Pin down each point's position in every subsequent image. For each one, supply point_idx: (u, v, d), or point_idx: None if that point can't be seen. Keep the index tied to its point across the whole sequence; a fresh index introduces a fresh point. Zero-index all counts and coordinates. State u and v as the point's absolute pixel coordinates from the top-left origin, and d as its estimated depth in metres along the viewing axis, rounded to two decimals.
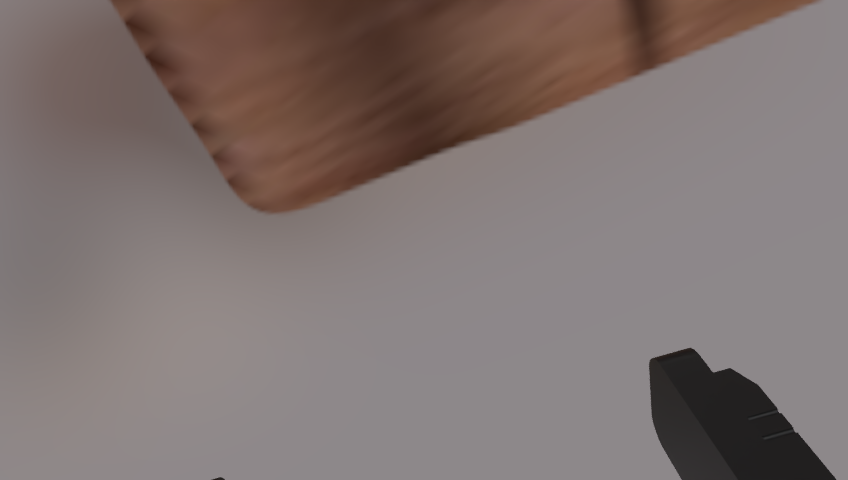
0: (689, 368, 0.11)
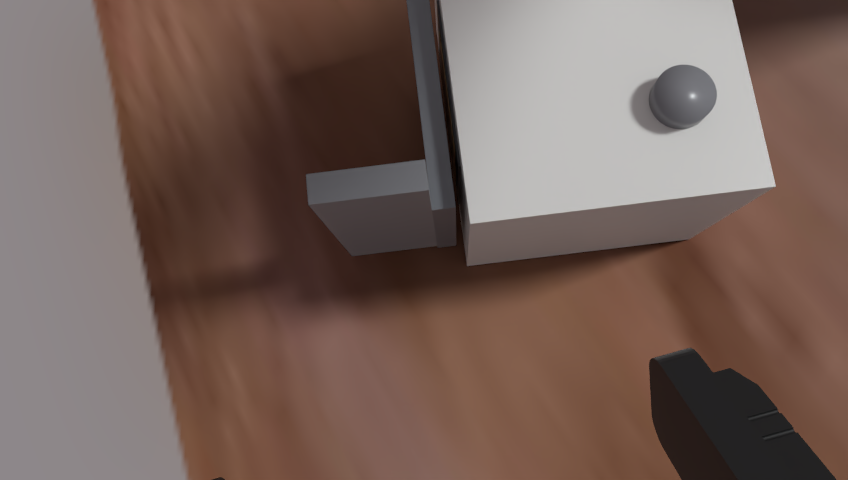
0: (689, 368, 0.11)
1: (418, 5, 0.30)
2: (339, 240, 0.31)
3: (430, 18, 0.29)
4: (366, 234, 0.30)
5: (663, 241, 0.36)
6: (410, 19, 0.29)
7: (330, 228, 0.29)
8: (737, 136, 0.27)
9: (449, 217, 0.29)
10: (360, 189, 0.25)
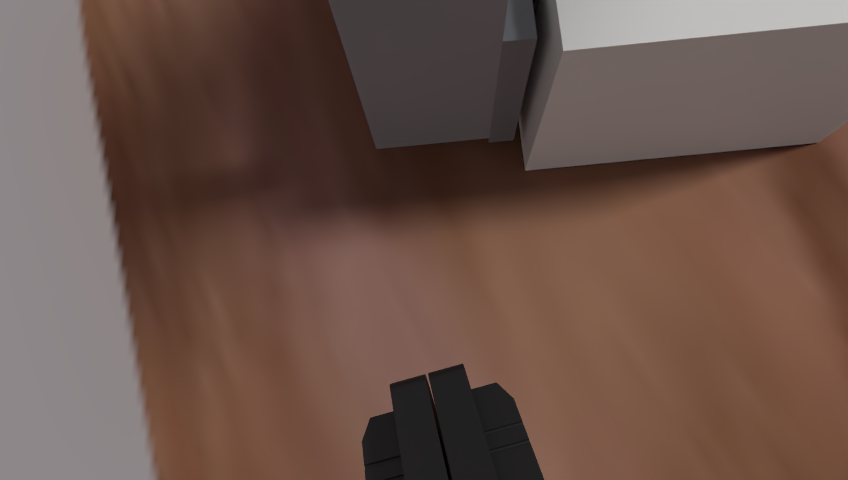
0: (452, 383, 0.12)
1: None
2: (363, 107, 0.23)
3: None
4: (402, 95, 0.22)
5: (785, 143, 0.27)
6: None
7: (354, 72, 0.20)
8: None
9: (522, 65, 0.21)
10: None
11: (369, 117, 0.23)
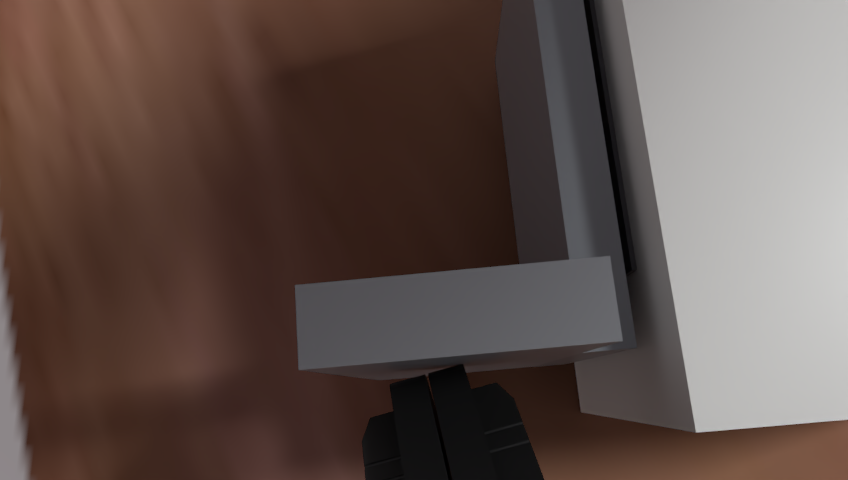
0: (452, 383, 0.12)
1: None
2: None
3: None
4: (419, 372, 0.15)
5: None
6: None
7: (348, 375, 0.13)
8: None
9: (602, 353, 0.14)
10: (439, 331, 0.09)
11: (371, 377, 0.16)
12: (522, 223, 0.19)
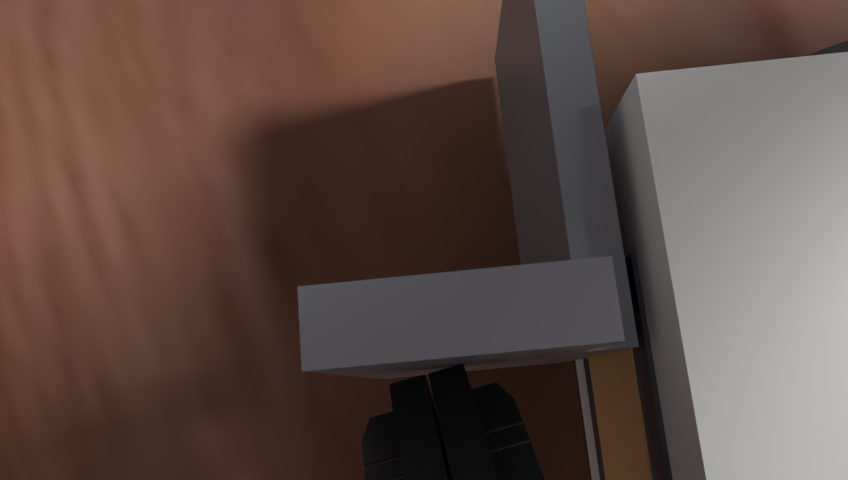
0: (452, 383, 0.12)
1: None
2: (364, 377, 0.16)
3: None
4: (420, 371, 0.15)
5: None
6: None
7: (350, 375, 0.13)
8: None
9: (603, 352, 0.14)
10: (441, 332, 0.09)
11: (372, 377, 0.17)
12: (523, 222, 0.19)
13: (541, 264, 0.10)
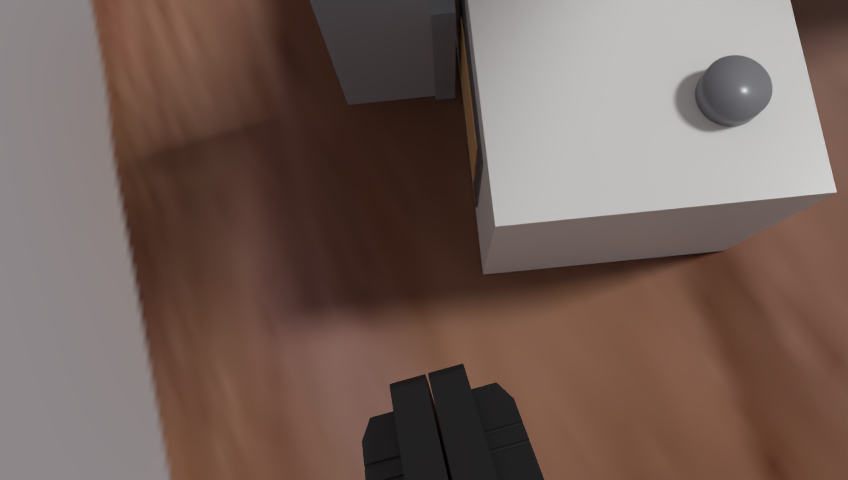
0: (452, 383, 0.12)
1: None
2: (335, 67, 0.30)
3: None
4: (363, 58, 0.30)
5: (696, 252, 0.33)
6: None
7: (325, 39, 0.28)
8: (793, 135, 0.24)
9: (448, 34, 0.28)
10: None
11: (340, 76, 0.31)
12: None
13: None
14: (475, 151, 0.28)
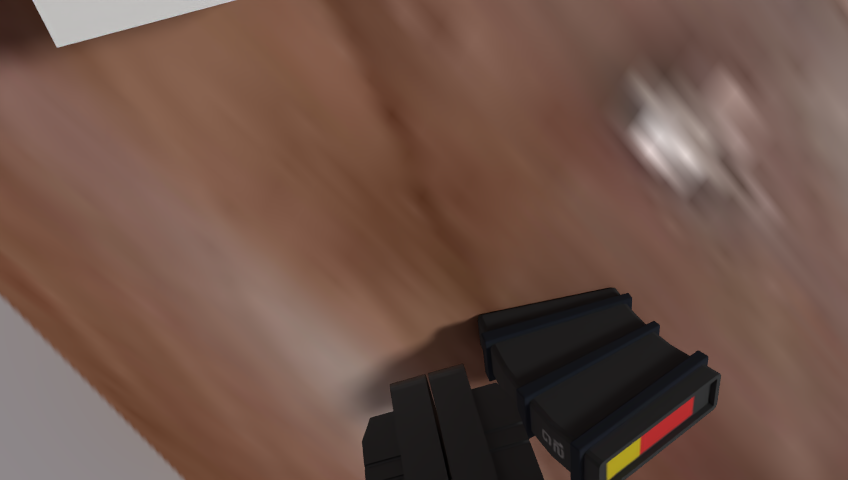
0: (452, 383, 0.12)
1: None
2: None
3: None
4: None
5: None
6: None
7: None
8: None
9: None
10: None
11: None
12: None
13: None
14: None
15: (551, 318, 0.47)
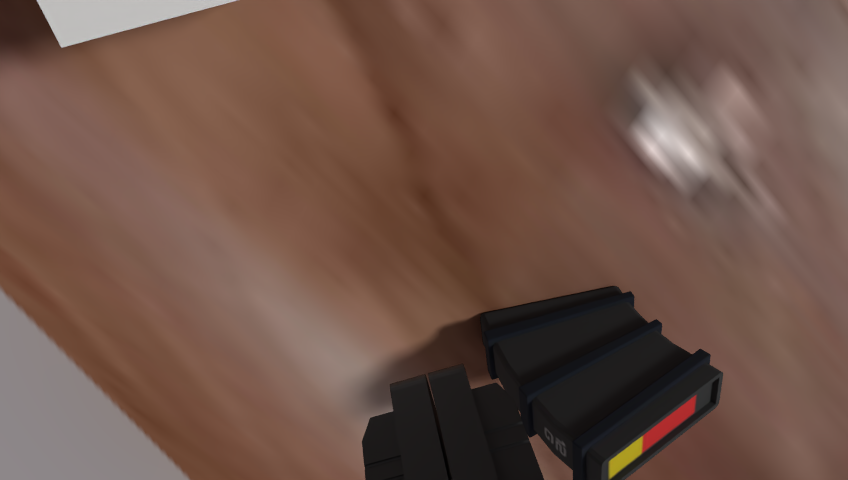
0: (452, 383, 0.12)
1: None
2: None
3: None
4: None
5: None
6: None
7: None
8: None
9: None
10: None
11: None
12: None
13: None
14: None
15: (553, 316, 0.47)
